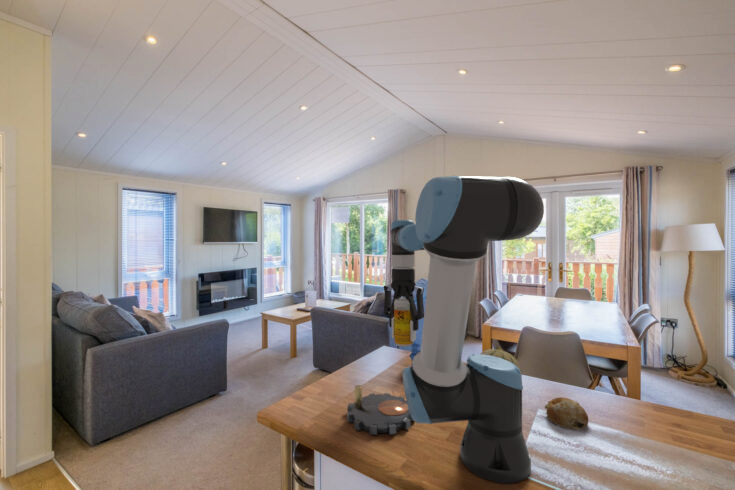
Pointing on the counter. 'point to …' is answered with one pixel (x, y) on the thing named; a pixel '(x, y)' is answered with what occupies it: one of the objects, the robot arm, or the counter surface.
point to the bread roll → (566, 413)
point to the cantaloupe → (502, 356)
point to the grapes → (414, 350)
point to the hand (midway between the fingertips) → (403, 338)
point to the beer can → (402, 322)
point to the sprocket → (379, 412)
